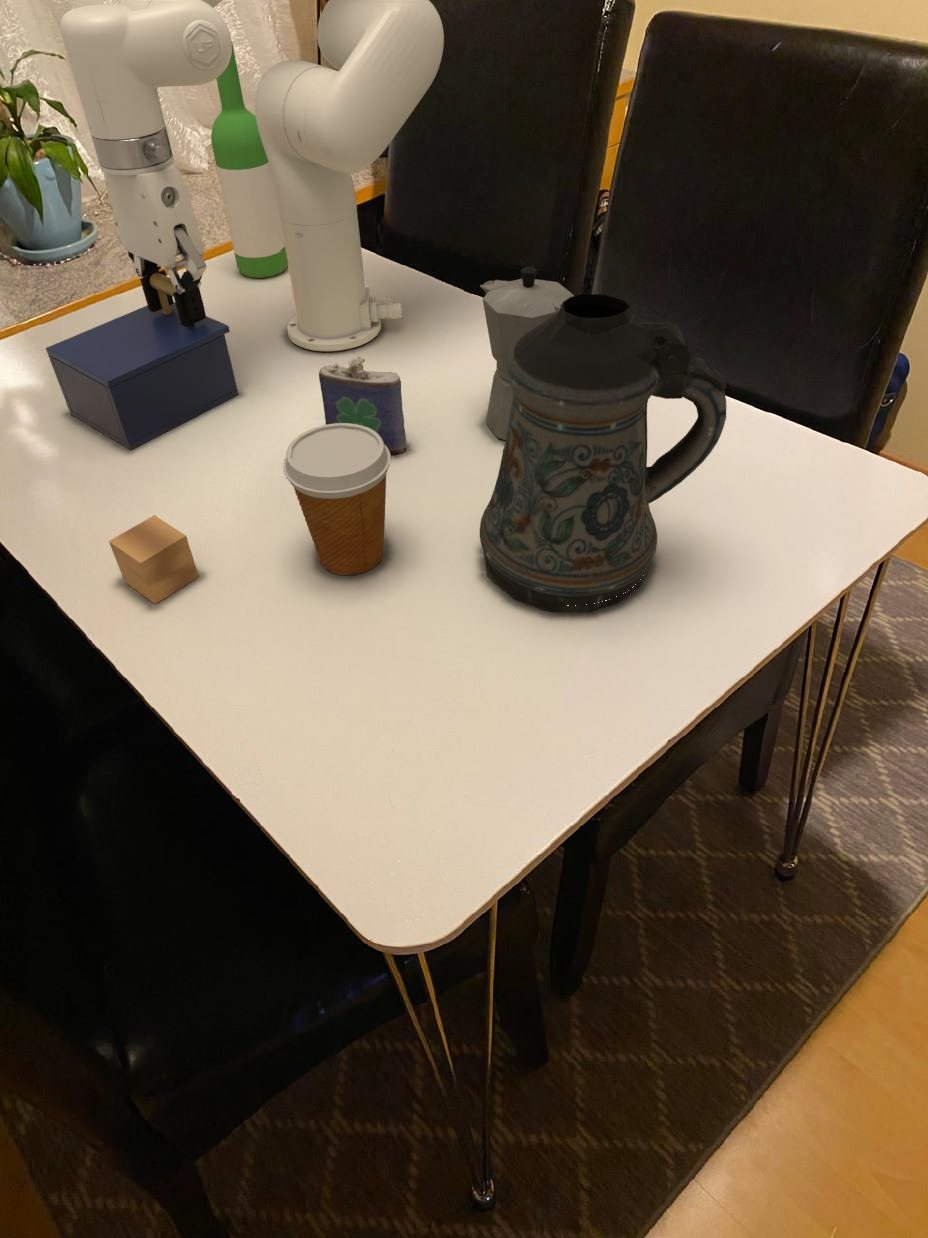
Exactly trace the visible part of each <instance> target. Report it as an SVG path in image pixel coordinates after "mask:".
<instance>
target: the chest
mask: <svg viewBox="0 0 928 1238" xmlns="http://www.w3.org/2000/svg"><path fill="white" fill-rule="evenodd" d="M47 356H48V358H49V362H50V365H51V367H52V369H53V372H54V374H55V377H56V379H57V382H58V385H59V387H60V390H61V393H62V395H63V398H64V401H65V403H66V405H67V408H68V411H69V413H70V415H71V416H73V417H75V418H76V419H78V420H79V421H81V422H82V423H84V424H86V425H88V427H91V428H92V429H94V430H96V431H98V432H99V433H101V434H102V435H104V436H106V437H108V438H109V439H111V440H113V441H114V442H116V443H118V444H119V445H121V446H123V447H125V449H128V450H130V451H132V450H134V449H136V448H137V447H140V446H142V445H144V444H145V443H147V442H149V441H151V440H153V439H155V438H157V437H159V436H161V435H163V434H165V433H167V432H169V431H171V430H173V429H174V428H176V427H179V426H180V425H182V424H184V423H186V422H188V421H190V420H193V419H194V418H196V417H198V416H200V415H202V414H204V413H206V412H208V411H210V410H212V409H213V408H215V407H217V406H219V405H222V404H223V403H225V402H227V401H229V400H231V399H233V398H236V397H237V396H238V395H239V390H238V385H237V382H236V378H235V373H234V369H233V365H232V360H231V356H230V352H229V347H228V343H227V339H226V334H224V335H222V336H220V337H218V338H216V339H214V340H211V341H209V342H207V343H205V344H203V345H201V346H199V347H196V348H194V349H192V350H190V351H188V352H186V353H184V354H181V355H179V356H177V357H175V358H173V359H171V360H168V361H166V362H164V363H162V364H160V365H158V366H156V367H153V368H151V369H149V370H147V371H145V372H143V373H141V374H138V375H136V376H134V377H132V378H130V379H128V380H126V381H123V382H121V383H119V384H117V385H115V386H113V387H110V388H109V387H107V386H105V385H103V384H101V383H99V382H98V381H96V380H94V379H92V378H90V377H88V376H87V375H85V374H83V373H81V372H79V371H78V370H76V369H74V368H72V367H70V366H68V365H67V364H65V363H63V362H61V361H59V360H57V359H56V358H54V357H52V356H50V355H48V354H47Z"/></svg>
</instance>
